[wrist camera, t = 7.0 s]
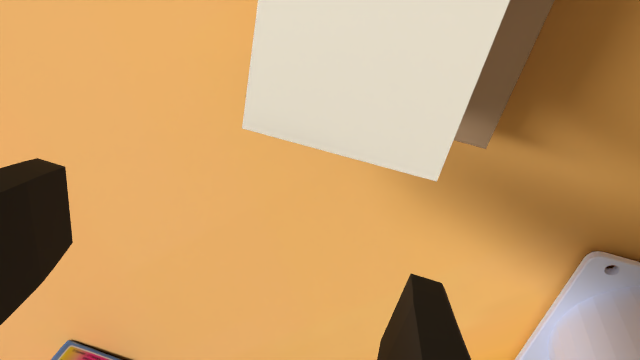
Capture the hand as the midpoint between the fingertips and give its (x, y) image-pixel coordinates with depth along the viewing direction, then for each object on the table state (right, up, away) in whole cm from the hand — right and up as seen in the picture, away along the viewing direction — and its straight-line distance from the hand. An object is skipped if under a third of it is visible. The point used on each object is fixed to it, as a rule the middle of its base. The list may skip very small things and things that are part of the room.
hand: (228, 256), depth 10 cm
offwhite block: (+4, +7, +3) cm, 9 cm away
